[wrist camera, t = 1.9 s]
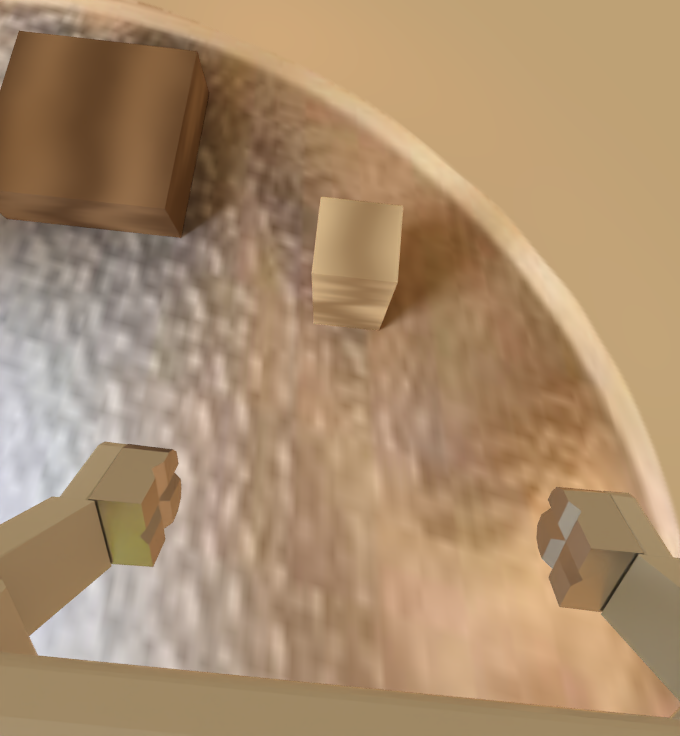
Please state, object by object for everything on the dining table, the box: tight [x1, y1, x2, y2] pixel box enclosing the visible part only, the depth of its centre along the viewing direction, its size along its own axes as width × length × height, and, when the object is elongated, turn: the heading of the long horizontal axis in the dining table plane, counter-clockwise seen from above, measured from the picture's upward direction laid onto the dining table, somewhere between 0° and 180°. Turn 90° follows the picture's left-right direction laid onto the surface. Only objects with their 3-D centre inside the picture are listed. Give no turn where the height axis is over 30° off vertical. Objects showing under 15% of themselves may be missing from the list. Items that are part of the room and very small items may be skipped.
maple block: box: [312, 197, 403, 331], centre depth 29 cm, size 4×4×8 cm
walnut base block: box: [0, 31, 209, 238], centre depth 33 cm, size 12×12×4 cm
